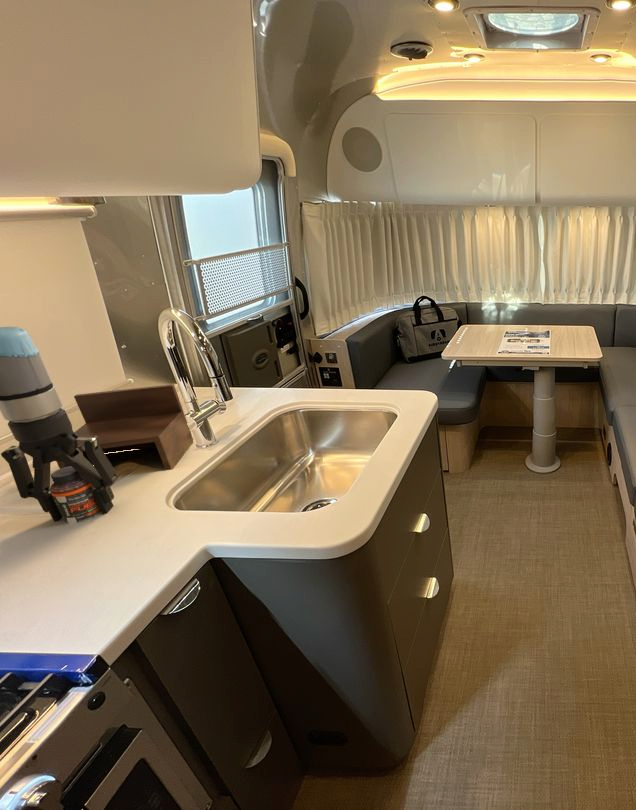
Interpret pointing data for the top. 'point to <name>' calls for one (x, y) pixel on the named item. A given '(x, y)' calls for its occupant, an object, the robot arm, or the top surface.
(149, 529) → the top surface
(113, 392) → the shelf
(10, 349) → the robot arm
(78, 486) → the supplement bottle
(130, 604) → the top surface
